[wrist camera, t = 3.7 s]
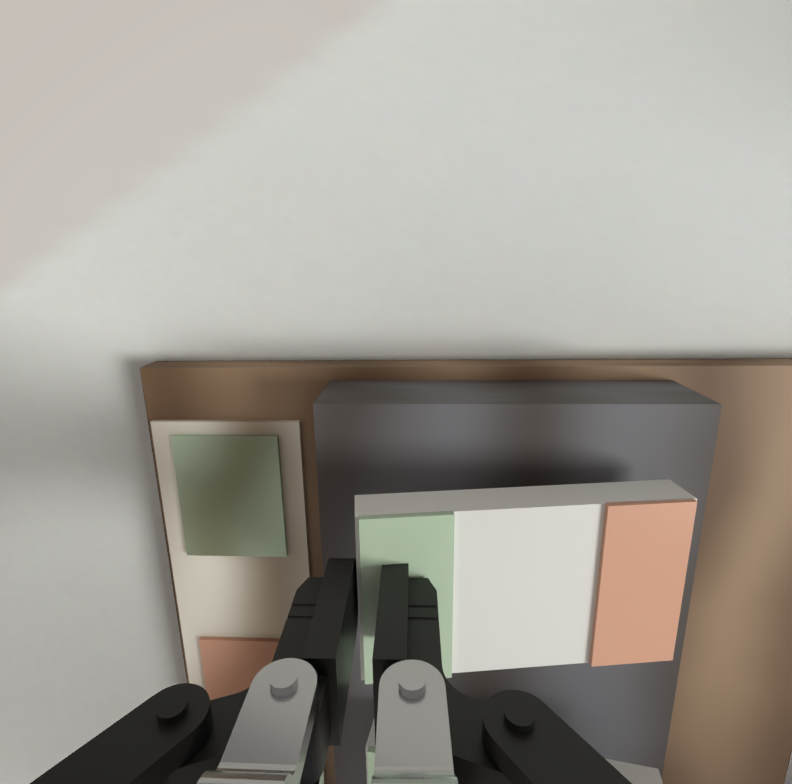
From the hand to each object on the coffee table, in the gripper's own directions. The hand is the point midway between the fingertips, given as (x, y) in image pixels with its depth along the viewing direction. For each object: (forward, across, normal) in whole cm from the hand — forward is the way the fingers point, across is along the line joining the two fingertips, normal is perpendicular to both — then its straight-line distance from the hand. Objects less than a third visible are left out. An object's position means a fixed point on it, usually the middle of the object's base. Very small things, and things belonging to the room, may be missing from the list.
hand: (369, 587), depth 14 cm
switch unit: (+7, -4, +9) cm, 12 cm away
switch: (+1, -4, 0) cm, 4 cm away
